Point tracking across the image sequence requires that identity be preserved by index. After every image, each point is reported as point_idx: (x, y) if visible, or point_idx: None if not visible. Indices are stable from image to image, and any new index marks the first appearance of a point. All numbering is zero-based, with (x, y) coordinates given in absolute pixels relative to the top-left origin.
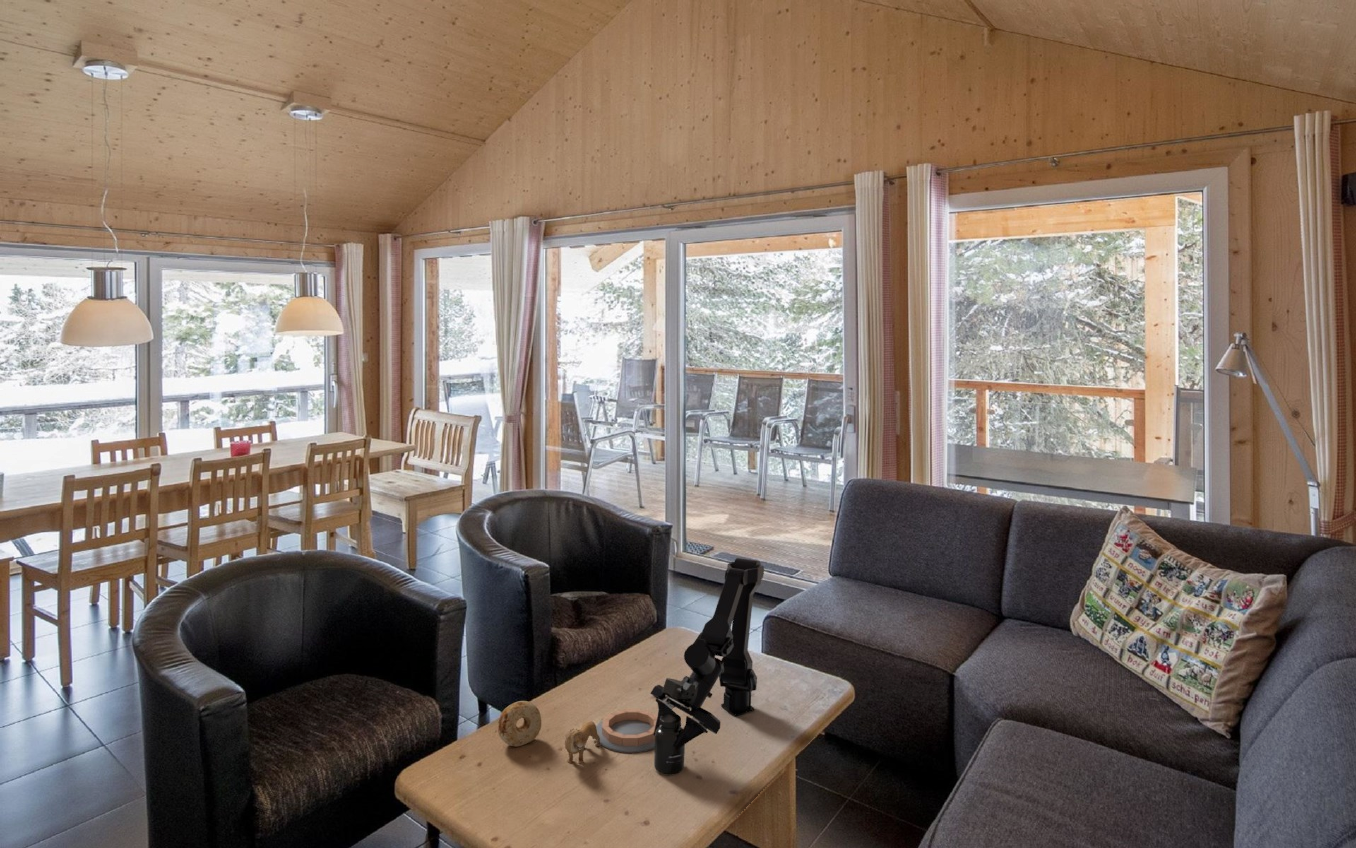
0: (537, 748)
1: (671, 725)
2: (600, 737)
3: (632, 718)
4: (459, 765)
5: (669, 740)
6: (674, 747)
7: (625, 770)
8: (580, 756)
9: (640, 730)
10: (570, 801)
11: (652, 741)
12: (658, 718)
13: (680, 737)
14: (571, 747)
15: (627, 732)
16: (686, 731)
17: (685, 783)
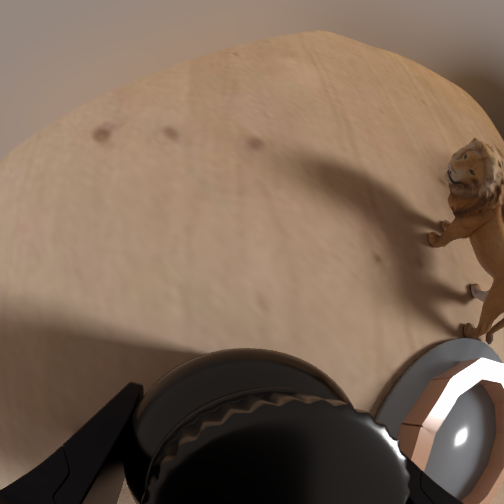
0: None
1: (178, 438)
2: (483, 355)
3: (481, 480)
4: (484, 133)
5: (168, 373)
6: (134, 383)
7: (334, 294)
8: (445, 230)
9: (442, 476)
10: (315, 109)
11: None
12: (418, 479)
13: (95, 433)
14: (454, 153)
15: (460, 437)
16: (37, 470)
17: (99, 371)
